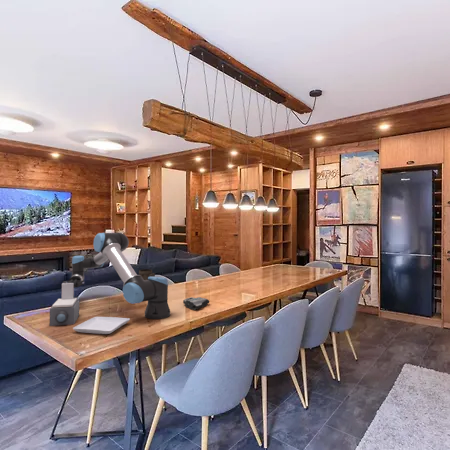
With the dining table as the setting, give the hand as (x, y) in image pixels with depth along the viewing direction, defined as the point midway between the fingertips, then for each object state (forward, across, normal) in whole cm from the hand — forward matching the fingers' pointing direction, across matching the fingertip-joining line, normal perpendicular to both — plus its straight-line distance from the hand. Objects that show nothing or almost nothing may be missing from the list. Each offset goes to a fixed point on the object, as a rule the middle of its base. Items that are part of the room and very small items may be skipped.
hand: (69, 287), depth 194 cm
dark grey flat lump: (-3, -77, -16) cm, 79 cm away
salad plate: (+31, -22, -17) cm, 42 cm away
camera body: (+13, 0, -16) cm, 20 cm away
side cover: (+12, 0, -6) cm, 13 cm away
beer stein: (-39, -48, -16) cm, 64 cm away
